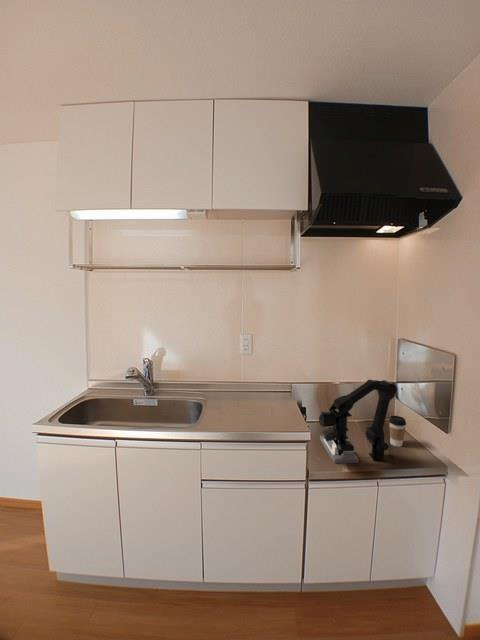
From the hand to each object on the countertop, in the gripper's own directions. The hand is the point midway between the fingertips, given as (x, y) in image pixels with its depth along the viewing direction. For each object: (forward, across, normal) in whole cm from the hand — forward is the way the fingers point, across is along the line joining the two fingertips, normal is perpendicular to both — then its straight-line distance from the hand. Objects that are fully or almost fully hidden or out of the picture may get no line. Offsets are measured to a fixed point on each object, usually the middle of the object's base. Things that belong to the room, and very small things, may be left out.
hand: (339, 455), depth 149 cm
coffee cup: (+4, -15, +38) cm, 41 cm away
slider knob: (+1, -4, 0) cm, 5 cm away
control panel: (+3, -10, +3) cm, 11 cm away
